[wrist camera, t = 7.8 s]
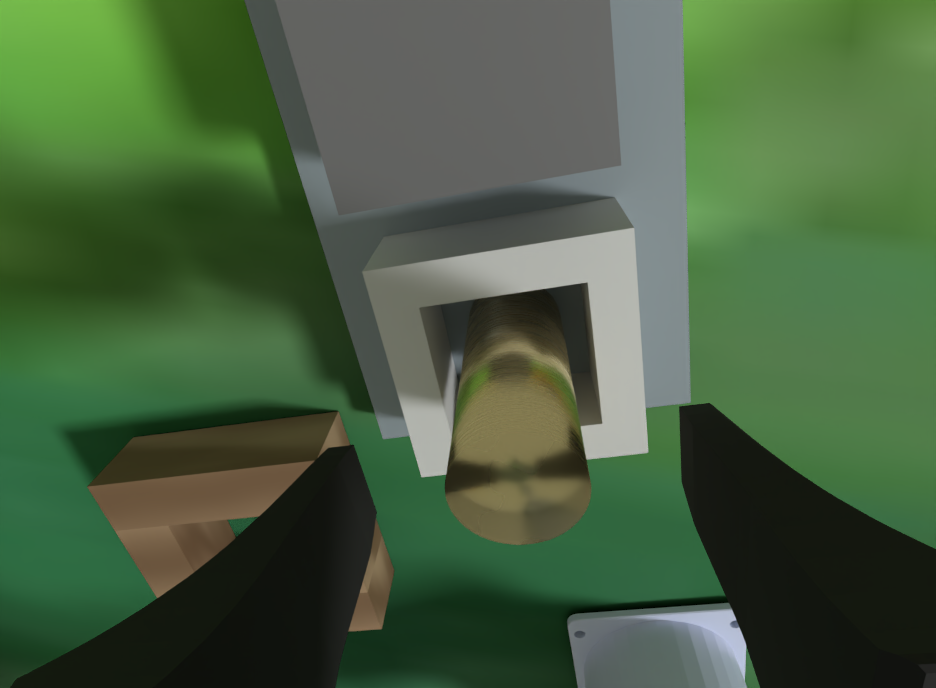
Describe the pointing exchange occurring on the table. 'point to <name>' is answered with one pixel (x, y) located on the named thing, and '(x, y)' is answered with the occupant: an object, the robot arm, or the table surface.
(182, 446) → the pin mount
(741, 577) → the robot arm
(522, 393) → the lock pin
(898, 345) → the table surface
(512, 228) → the tool dock
